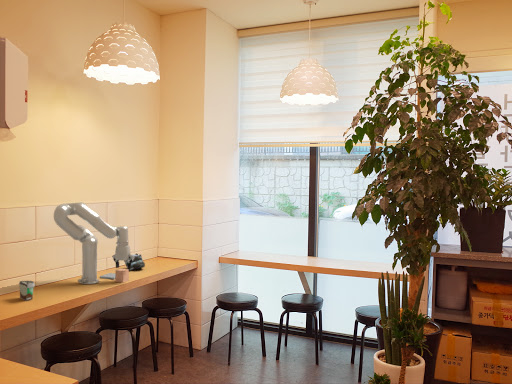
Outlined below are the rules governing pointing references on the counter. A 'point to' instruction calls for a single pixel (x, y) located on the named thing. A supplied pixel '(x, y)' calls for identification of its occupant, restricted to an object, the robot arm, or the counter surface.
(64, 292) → the counter surface
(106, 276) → the slate board
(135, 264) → the lucky cat figurine
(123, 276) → the peach rectangular block
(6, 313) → the counter surface
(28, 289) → the food container
